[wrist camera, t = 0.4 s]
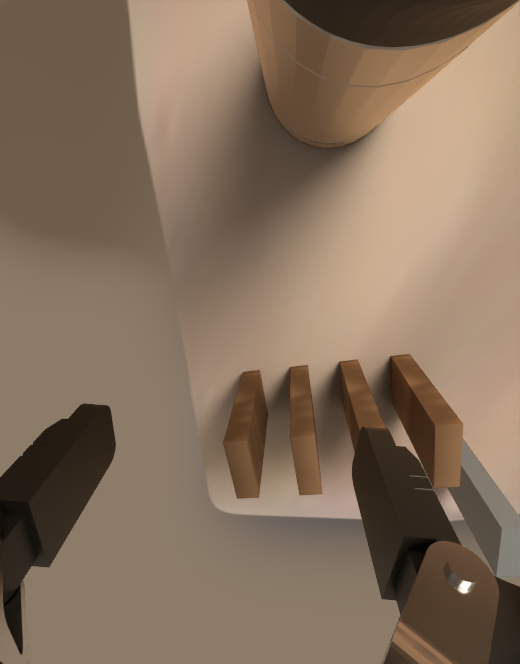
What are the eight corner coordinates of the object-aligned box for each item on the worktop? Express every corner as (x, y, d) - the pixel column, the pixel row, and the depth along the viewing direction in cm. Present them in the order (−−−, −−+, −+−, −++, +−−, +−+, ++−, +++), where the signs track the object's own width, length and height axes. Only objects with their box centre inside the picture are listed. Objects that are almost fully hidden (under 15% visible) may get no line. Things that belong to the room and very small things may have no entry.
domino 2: (307, 365, 31) (314, 435, 22) (313, 410, 33) (322, 493, 23) (290, 367, 31) (290, 437, 22) (297, 412, 33) (299, 495, 24)
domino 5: (459, 433, 32) (527, 527, 23) (457, 474, 34) (519, 576, 25) (441, 434, 32) (501, 528, 23) (440, 475, 34) (496, 577, 25)
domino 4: (409, 354, 30) (463, 423, 20) (410, 402, 31) (459, 486, 22) (390, 356, 30) (435, 425, 21) (392, 403, 32) (433, 487, 22)
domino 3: (357, 359, 30) (386, 429, 21) (360, 406, 32) (388, 490, 23) (339, 361, 31) (360, 431, 21) (343, 408, 32) (364, 491, 23)
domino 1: (259, 370, 32) (246, 440, 22) (267, 414, 33) (258, 497, 24) (243, 372, 32) (223, 442, 23) (252, 416, 34) (237, 498, 24)
